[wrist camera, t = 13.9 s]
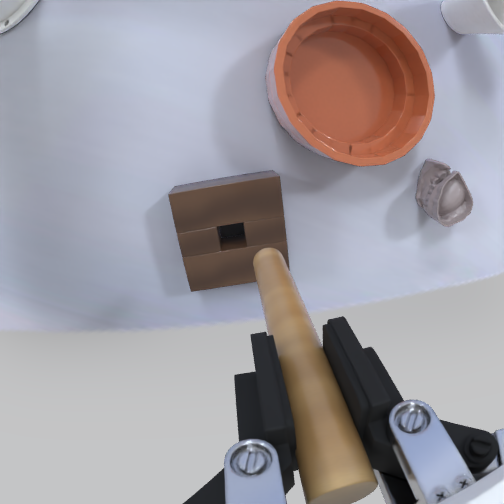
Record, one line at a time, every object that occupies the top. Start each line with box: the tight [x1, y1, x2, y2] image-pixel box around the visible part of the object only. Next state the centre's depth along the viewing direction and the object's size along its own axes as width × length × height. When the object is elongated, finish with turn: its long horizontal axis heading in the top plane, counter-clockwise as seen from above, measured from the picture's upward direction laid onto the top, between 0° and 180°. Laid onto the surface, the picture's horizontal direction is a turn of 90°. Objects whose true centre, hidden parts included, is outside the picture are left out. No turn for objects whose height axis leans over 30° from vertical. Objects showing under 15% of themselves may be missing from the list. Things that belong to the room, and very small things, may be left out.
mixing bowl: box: [265, 1, 435, 167], centre depth 26 cm, size 17×17×6 cm
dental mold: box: [416, 159, 473, 227], centre depth 32 cm, size 8×7×5 cm
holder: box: [168, 170, 290, 292], centre depth 32 cm, size 11×11×4 cm
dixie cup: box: [441, 0, 504, 35], centre depth 20 cm, size 8×8×10 cm
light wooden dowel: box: [253, 248, 378, 504], centre depth 12 cm, size 2×2×14 cm
